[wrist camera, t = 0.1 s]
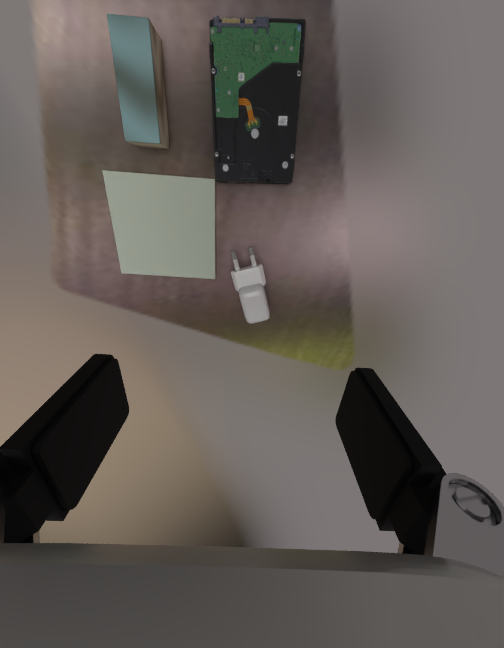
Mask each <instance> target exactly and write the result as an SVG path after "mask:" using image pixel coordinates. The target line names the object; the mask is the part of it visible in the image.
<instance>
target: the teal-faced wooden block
mask: <svg viewBox="0 0 504 648" xmlns="http://www.w3.org/2000/svg"><path fill="white" fill-rule="evenodd" d="M107 19H108V26H109V33H110V40H111V47H112V53H113V60H114V67H115V74H116V81H117V88H118V95H119V102H120V108H121V115H122V122H123V129H124V136H125V141H127V142H129V143H131V144H134V145H136V146H138V147H145V148H158V149H170V147H169V134H168V121H167V108H166V95H165V82H164V69H163V56H162V43H161V39H160V38H159V36H158V34H157V32H156V31H155V29H154V27H153V25H152V23H151V22H150V20H149V18H146V17H136V16H125V15H115V14H107Z"/></svg>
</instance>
